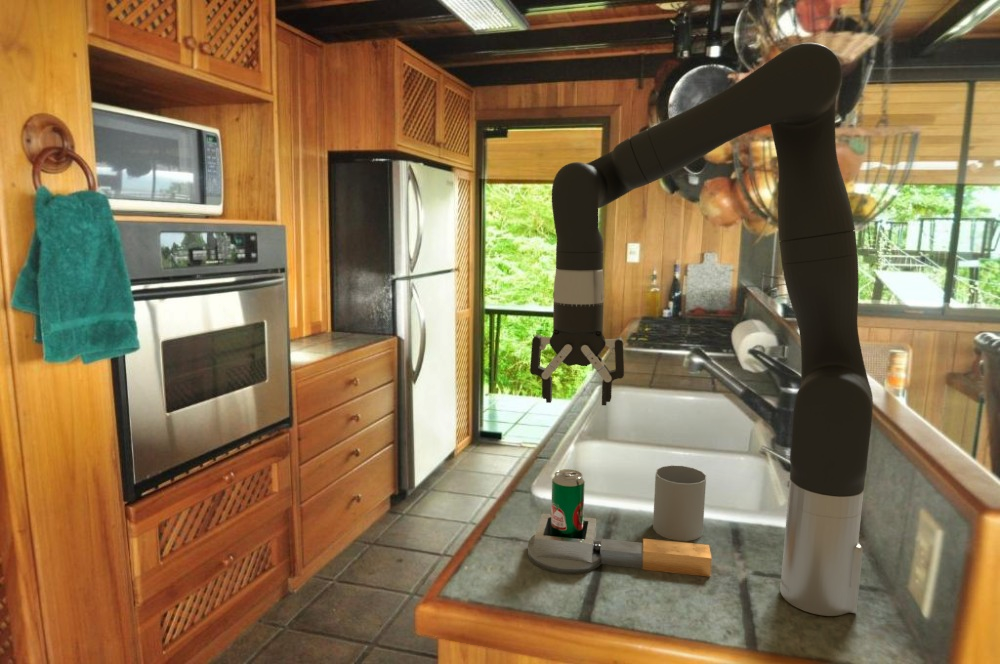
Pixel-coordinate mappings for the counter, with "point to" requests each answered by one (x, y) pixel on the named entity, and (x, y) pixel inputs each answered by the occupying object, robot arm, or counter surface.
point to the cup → (679, 502)
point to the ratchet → (613, 552)
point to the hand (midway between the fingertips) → (576, 402)
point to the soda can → (567, 504)
